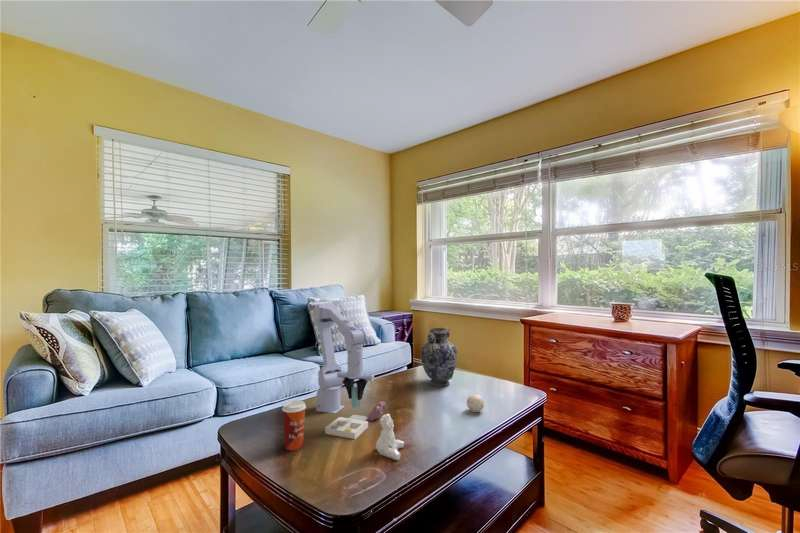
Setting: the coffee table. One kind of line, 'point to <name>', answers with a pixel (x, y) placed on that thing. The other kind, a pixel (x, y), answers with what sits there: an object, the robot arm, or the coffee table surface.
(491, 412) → the coffee table surface
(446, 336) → the decorative vase
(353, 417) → the mat
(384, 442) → the white creature statuette
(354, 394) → the plug
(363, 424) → the socket board
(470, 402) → the baseball
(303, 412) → the paper cup
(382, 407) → the video game controller
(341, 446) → the coffee table surface
